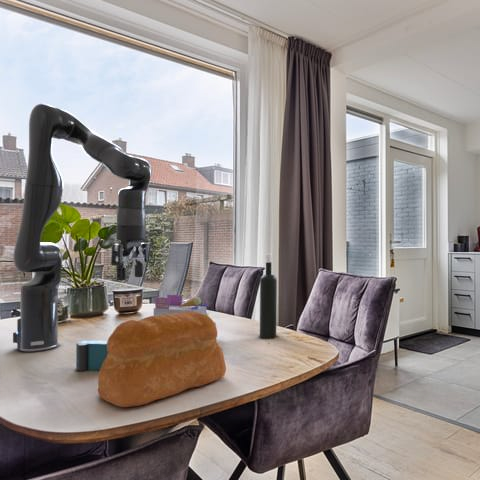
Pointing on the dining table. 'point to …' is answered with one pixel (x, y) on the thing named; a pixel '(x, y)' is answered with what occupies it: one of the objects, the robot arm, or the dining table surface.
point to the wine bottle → (268, 301)
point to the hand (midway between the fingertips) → (130, 278)
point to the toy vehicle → (178, 305)
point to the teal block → (90, 355)
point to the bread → (160, 358)
